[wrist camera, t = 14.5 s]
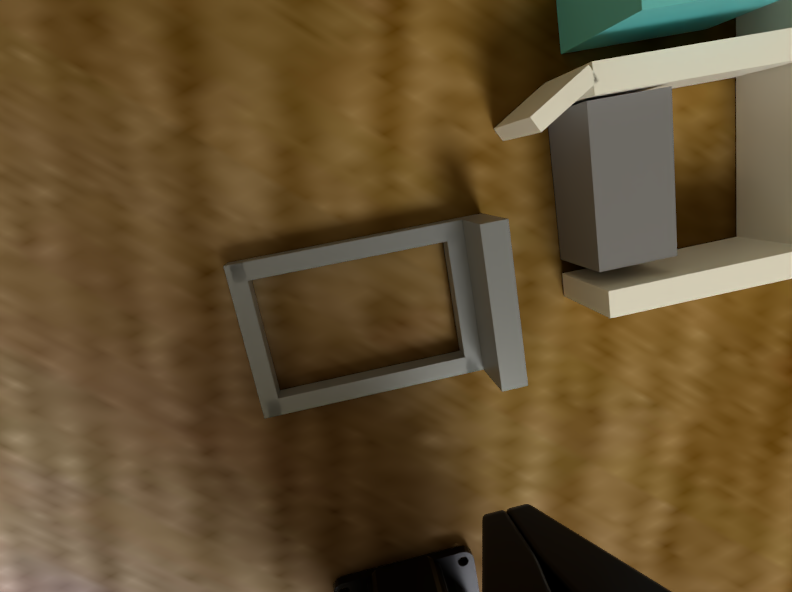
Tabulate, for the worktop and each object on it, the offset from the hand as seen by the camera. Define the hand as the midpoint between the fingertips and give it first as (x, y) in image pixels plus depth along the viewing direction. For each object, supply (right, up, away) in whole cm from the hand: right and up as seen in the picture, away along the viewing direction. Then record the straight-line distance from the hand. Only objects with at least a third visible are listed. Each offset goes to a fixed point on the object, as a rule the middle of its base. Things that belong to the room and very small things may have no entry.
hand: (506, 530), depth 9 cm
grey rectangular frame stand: (-4, +3, +11) cm, 12 cm away
